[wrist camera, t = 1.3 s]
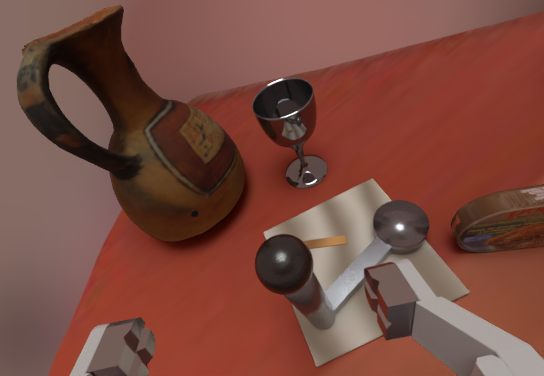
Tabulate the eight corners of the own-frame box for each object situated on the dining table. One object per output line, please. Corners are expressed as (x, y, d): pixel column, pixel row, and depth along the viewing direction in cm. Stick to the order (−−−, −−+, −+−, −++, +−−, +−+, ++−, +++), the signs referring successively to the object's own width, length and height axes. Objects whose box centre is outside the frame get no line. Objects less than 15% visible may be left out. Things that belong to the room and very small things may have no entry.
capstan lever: (392, 202, 37) (401, 83, 23) (436, 228, 33) (480, 106, 19) (292, 308, 33) (226, 244, 19) (329, 351, 29) (283, 312, 15)
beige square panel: (372, 180, 41) (372, 177, 40) (468, 293, 29) (470, 291, 29) (264, 234, 41) (262, 231, 40) (317, 367, 29) (316, 366, 29)
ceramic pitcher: (263, 152, 51) (171, -40, 29) (238, 254, 40) (56, 74, 17) (177, 160, 58) (47, 9, 35) (136, 249, 47) (-94, 114, 24)
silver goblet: (321, 193, 42) (300, 119, 31) (276, 186, 46) (242, 117, 34) (335, 155, 46) (321, 76, 34) (292, 151, 49) (266, 78, 38)
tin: (451, 256, 32) (469, 222, 25) (441, 232, 34) (455, 194, 27) (612, 239, 28) (682, 194, 22) (591, 213, 30) (649, 164, 24)
